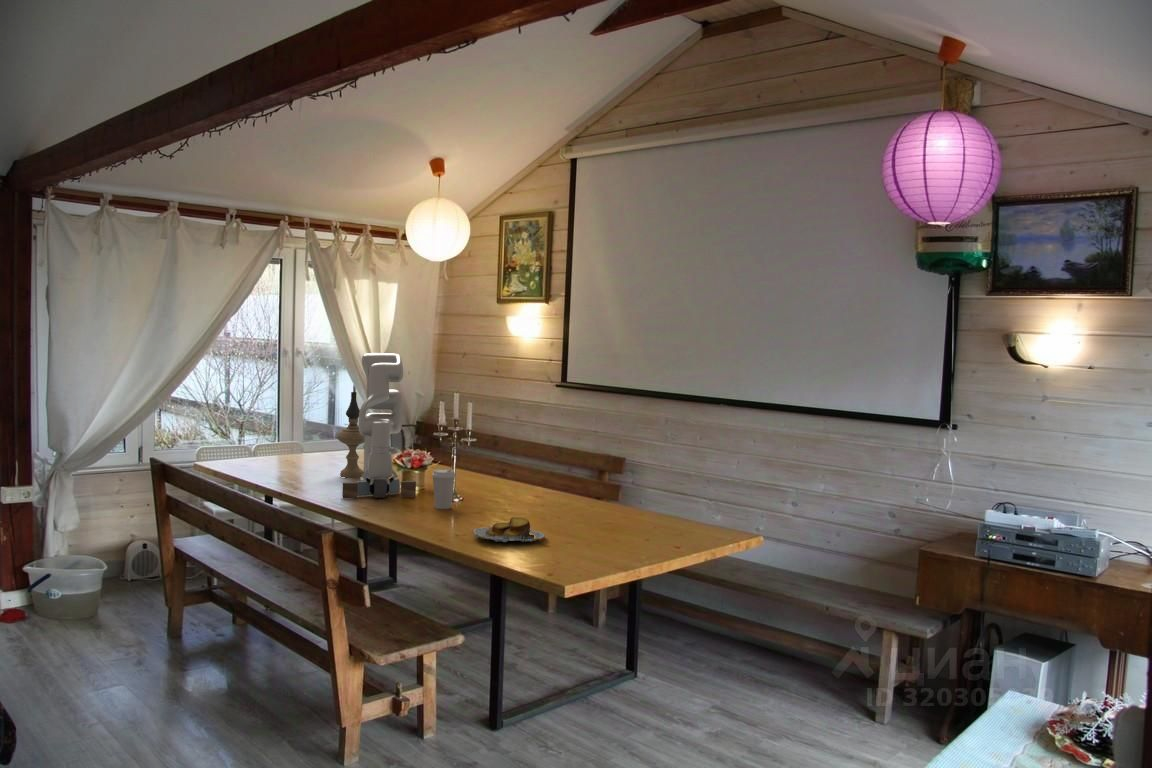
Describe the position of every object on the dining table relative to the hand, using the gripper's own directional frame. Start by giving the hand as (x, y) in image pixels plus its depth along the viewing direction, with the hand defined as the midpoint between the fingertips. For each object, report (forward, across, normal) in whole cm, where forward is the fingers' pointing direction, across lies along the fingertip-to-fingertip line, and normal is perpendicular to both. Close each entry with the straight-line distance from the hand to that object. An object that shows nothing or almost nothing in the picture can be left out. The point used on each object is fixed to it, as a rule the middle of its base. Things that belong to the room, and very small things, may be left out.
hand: (379, 493), depth 363 cm
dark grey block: (+1, 0, 0) cm, 1 cm away
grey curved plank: (+1, 0, -5) cm, 5 cm away
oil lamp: (+1, +8, -51) cm, 51 cm away
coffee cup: (+3, -23, +22) cm, 32 cm away
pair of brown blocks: (+2, 0, -1) cm, 2 cm away
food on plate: (+4, -37, +76) cm, 85 cm away
